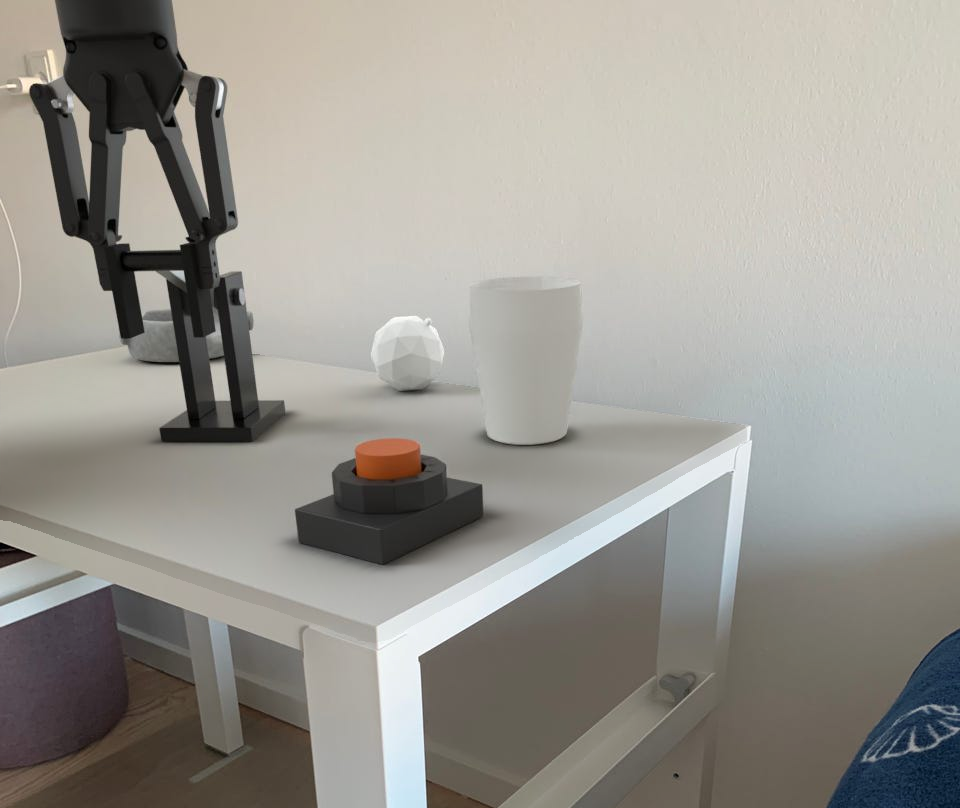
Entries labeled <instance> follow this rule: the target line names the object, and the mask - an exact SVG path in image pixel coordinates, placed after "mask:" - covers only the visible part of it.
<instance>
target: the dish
mask: <svg viewBox="0 0 960 808" xmlns="http://www.w3.org/2000/svg"><path fill="white" fill-rule="evenodd" d="M247 317H248V325H249V331H252V330H253V328H254V324H255V323H254V321H255V320H254V315H253V312H252V311H249V310H247ZM142 320H143V325H144V331H145V333H142V334H140V335H138V336H135V337H133V338H130V339H121V337H120V331H119V330H118V339H119V342H120V344H121V345H123V346H127V349H128V352H129V355H130V356H131V357H132V358H133V359H136V360H140V361H145V362H157V363H179V357H178V351H177V345H176V339H175V332H174V326H173V320H172V314H171V308H163V309H153V310H146V311H144V312H143V313H142ZM214 322H215V329H216V332H214V333H211V334H209V335H207V336H206V341H207V348H208V355H209V360H210V359H216V358H220V357H224V351H223V344H222V337H221V330H220V323H219V316H214Z"/></svg>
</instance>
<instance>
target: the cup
mask: <svg viewBox="0 0 960 808" xmlns="http://www.w3.org/2000/svg"><path fill="white" fill-rule="evenodd" d="M583 322H584V315H583V299H582V281H581V280H579V279H575V278H571V277H563V276H562V277H560V276H513V277H501V278H500V277H499V278H497V277H496V278H490V279H483V280H478V281H475V282H472V283H470V284H469V318H468V328H469V335H470V340H471V346H472V352H473V353H472V354H473V359H474V364H475V370H476V376H477V377H476V378H477V383H478V387H479V393H480V395H479V396H480V400H481V404H482V405H481V406H482V412H483V418H484V424H485V429H486V435H487V437H488V438H490V439H491V440H493V441H495V442H498V443H502V444H506V445H507V444H508V445H515V446H516V445H517V446H530V445H531V446H532V445H542V444H549V443H553V442H555V441H559V440H561V439H563V438H564V437H565V436H566V435H567V433H568V427H569V420H570V414H571V408H572V407H571V406H572V400H573V393H574V387H575V380H576V373H577V366H578V359H579V354H580V346H581V345H580V344H581V338H582V333H583V332H582V331H583V324H584V323H583Z"/></svg>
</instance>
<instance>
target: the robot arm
mask: <svg viewBox="0 0 960 808" xmlns="http://www.w3.org/2000/svg"><path fill="white" fill-rule="evenodd" d="M54 3H55V9H56V14H57V20H58V26H59V31H60V35H61V38H62V41H63V44H64V47H65V60H64V64H63V67H62V75H60V76H58V77H56V78H55V79H52V80H50V81H48V82H46V83H38V82H37V83H32V84H31V85H30V87H29V89H28V93H29V97H30V100H31V101H32V103H33V105H34V107H35V109H36V111H37V113H38V115H39V118H40V119H41V121H42V125H43V130H44V135H45V139H46V140H45V141H46V146H47V151H48V157H49V163H50V167H51V173H52V178H53V184H54V189H55V194H56V200H57V201H56V202H57V206H58V211H59V217H60V222H61V227H62V230H63V232H64V234H65V235H66V236H68V237H71V238H73V237H75V238H76V239H77V238H78V239H80V240H83V241H86V242H87V243H89V244H90V246H91V248H92V250H93V256H94V261H95V266H96V270H97V276H98V282H99V285H100V288H101V289H102V291H103V292H111V293H112V298H113V304H114V310H115V314H116V315H115V316H116V321H117V325H118V332H119V331H120V337H121V339H130V338H133V337H135V336H138V335H140V334H142V333H145V331H144V325H143V320H142V315H143V313H142V308H141V303H140V297H139V292H138V286H137V279H136V274H135V273H136V272H126V271H124V270H123V268H122V265H121V260H120V257H121V253H122V252H123V251H132V250H131V245H130V243H128V242H126V243H125V242H124V243H118V242H120V241H121V240H122V238H123V235H122V234H120V235H119V226H120V225H119V223H120V209H121V208H120V206H121V205H120V204H121V188H122V172H123V171H122V169H123V151H124V146H125V145H126V143H127V134H128V133H127V132H132V131H135V130H140V131H142V130H143V131H145V133H146V137H147V139H148V141H149V143H151V145H152V146H153V147H154V150H155V152H156V155H157V157H158V159H159V162H160V165H161V168H162V171H163V173H164V176H165V178H166V181H167V183H168V186H169V189H170V192H171V194H172V196H173V199H174V203H175V204H176V207H177V210H178V212H179V215H180V217H181V220H182V222H183V225H184V227H185V230H186V233H187V235H188V236H185V240H186V241H187V242H186V243H182V244H179V248H180V249H179V250H181V257H182V263H183V270H184V276H185V283H186V289H187V296H188V302H189V309H190V315H191V322H192V328H193V335H194V338H196V337H205V336H207V335H209V334H211V333H214V332H216V329H215V322H214V315H213V309H212V302H211V295H210V289H213V288H215V287H218V286H219V282H220V275H221V274H220V269H219V261H218V253H217V246H216V245H217V244H216V243H217V240H218V238H219V237H220V236H222V235H225V234H226V233H229V232H231V231H233V230H236V229H237V227H238V226H239V218H238V210H237V205H236V196H235V190H234V183H233V177H232V176H233V175H232V169H231V162H230V161H231V160H230V155H229V154H230V153H229V148H228V143H227V142H228V140H227V135H226V134H227V133H226V127H225V119H224V112H225V107H226V103H227V94H228V84H227V82H226V80H224V79H223V78H221V77H215V76H210V75H203V74H201V73H198V72H195V71H192V70H189V67H188V65H187V63H186V61H185V60H184V58H183V57H182V54H181V52H180V50H179V46H178V34H177V25H176V19H175V13H174V6H173V0H54ZM185 89H186V91H187V95H188V101H189V103H190V105H191V106H192V107H194V119H195V121H194V122H195V129H196V135H197V142H198V147H199V154H200V161H201V167H202V168H201V169H202V175H203V180H204V187H205V193H206V199H207V200H206V201H207V203H206V201H205V198H204V195H203V193H202V191H201V187H200V184H199V182H198V180H197V179H198V178H197V176H196V174H195V172H194V168H193V166H192V163H191V161H190V158H189V155H188V153H187V150H186V147H185V145H184V142H183V132H182V130H181V128H180V125H179V122H178V119H177V116H176V114H175V110H176V108H177V106H178V104H179V101H180V99H181V97H182V95H183V94H184V93H183V92H184V91H185ZM74 95H75V97H76V98H77V99H78V100H79V101H80V103H81V104H82V105H83V107H84V108H85V109H86V110H87V111H88V112H89V114H88V115H89V117H88V119H89V120H88V139H89V141H90V144H91V149H90V152H91V153H90V172H89V193H88V187H87V182H86V175H85V170H84V164H83V159H82V153H81V147H80V142H79V136H78V130H77V125H76V121H75V117H74V115H73V112H74V110H75V102H74Z"/></svg>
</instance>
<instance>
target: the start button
mask: <svg viewBox="0 0 960 808" xmlns="http://www.w3.org/2000/svg"><path fill="white" fill-rule="evenodd" d="M354 453H355V454H354V458H356V468H357V476H358V477H363V478H368V479H397V478H404V477H410V476H414V475H416V474H419V473H421V472H422V470H421V455H422V453H421V445H420V443H419V442H417V441H416V440H412V439H407V438H396V437H395V438H393V437H391V438H390V437H389V438H379V439H378V438H377V439H372V440H367V441H364V442H361V443H359V444H358V445H356V446H355V448H354Z"/></svg>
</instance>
